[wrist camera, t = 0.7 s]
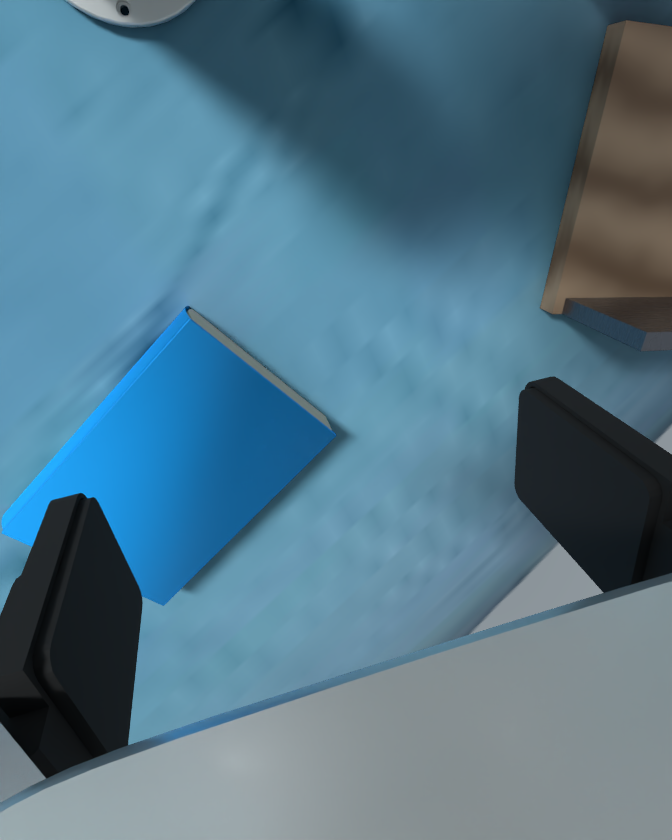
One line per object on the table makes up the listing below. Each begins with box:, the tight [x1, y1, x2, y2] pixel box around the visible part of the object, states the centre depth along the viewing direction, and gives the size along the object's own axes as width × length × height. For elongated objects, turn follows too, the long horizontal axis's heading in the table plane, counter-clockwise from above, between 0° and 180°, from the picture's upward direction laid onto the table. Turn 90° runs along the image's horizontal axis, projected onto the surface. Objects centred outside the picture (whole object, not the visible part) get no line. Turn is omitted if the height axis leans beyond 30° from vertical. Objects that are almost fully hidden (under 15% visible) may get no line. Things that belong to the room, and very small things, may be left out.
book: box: [2, 306, 336, 606], centre depth 47 cm, size 17×4×25 cm
